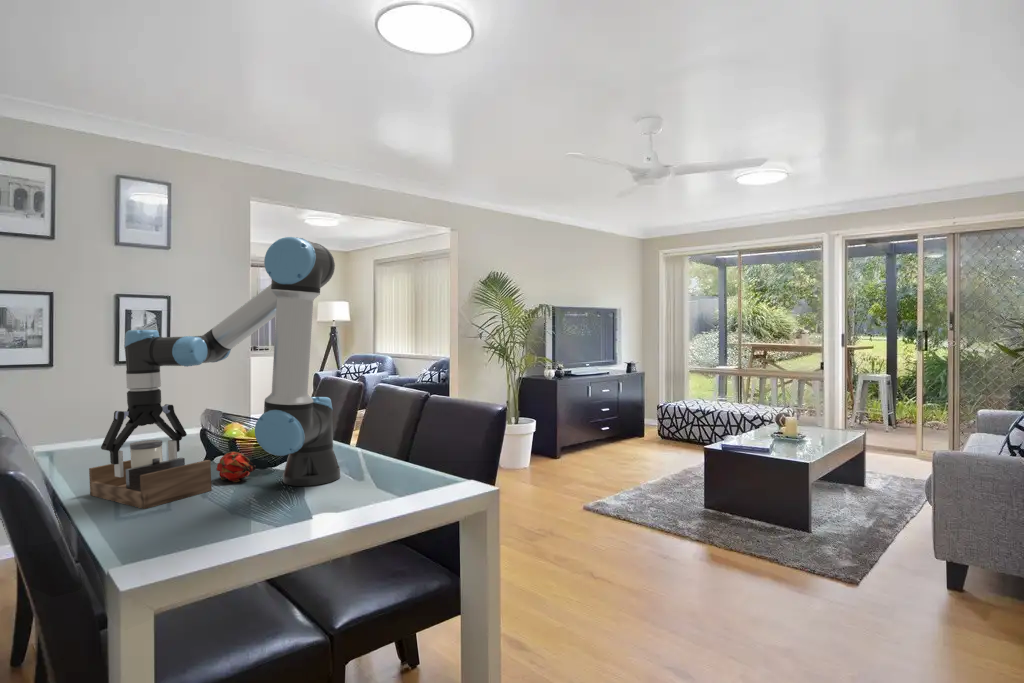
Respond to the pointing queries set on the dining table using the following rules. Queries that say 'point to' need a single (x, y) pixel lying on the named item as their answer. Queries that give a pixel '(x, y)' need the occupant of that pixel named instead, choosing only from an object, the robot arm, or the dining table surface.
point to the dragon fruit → (234, 466)
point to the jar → (145, 452)
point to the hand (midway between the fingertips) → (147, 470)
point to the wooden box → (151, 484)
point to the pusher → (149, 471)
